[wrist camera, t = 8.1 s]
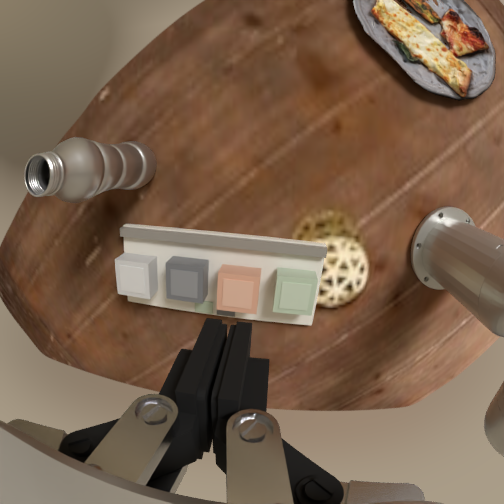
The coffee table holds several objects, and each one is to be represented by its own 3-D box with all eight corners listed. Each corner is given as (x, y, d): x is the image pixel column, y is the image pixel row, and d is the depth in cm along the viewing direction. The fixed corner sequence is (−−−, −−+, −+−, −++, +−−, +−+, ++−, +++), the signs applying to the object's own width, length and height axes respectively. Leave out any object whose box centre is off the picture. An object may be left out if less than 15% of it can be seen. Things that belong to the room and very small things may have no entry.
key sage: (315, 271, 38) (318, 280, 35) (309, 305, 39) (311, 316, 36) (277, 267, 38) (277, 276, 35) (273, 301, 39) (272, 312, 37)
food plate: (505, 61, 25) (517, 57, 22) (446, 131, 32) (458, 129, 28) (403, -43, 22) (409, -53, 19) (320, 7, 29) (323, -5, 25)
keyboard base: (325, 243, 38) (327, 247, 36) (311, 321, 42) (312, 328, 40) (126, 223, 40) (119, 226, 38) (130, 298, 43) (125, 303, 41)
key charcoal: (208, 259, 38) (203, 267, 36) (207, 293, 40) (202, 304, 37) (173, 255, 39) (165, 263, 36) (173, 289, 40) (166, 298, 37)
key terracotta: (261, 268, 37) (260, 277, 34) (257, 303, 39) (256, 314, 36) (222, 264, 37) (217, 272, 34) (220, 298, 39) (216, 309, 36)
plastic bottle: (155, 193, 38) (59, 224, 19) (115, 181, 38) (11, 204, 19) (166, 147, 36) (71, 141, 17) (125, 138, 36) (20, 132, 17)
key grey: (157, 256, 38) (147, 264, 35) (158, 290, 39) (149, 299, 36) (125, 252, 38) (114, 259, 35) (127, 285, 40) (117, 294, 37)
